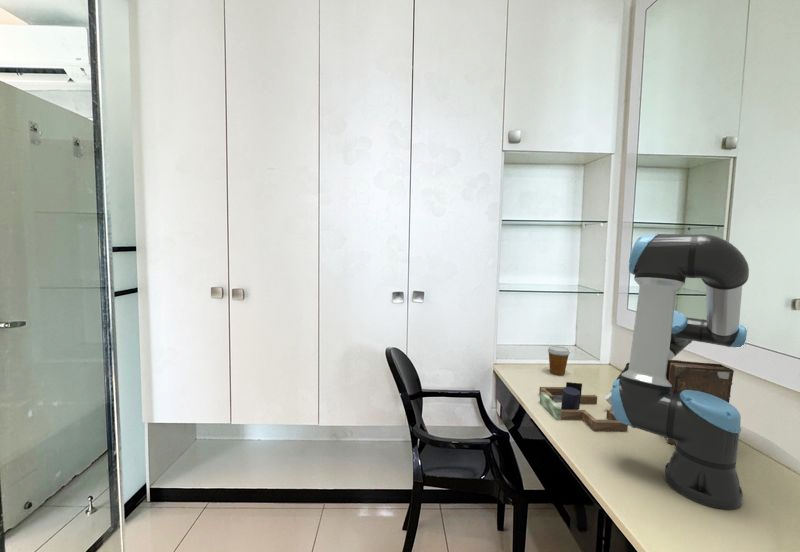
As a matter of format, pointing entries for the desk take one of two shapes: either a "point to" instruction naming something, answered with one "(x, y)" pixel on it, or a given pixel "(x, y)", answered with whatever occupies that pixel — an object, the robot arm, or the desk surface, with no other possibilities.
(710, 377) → the book
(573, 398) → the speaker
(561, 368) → the disposable coffee cup
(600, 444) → the desk surface
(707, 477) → the robot arm
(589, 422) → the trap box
